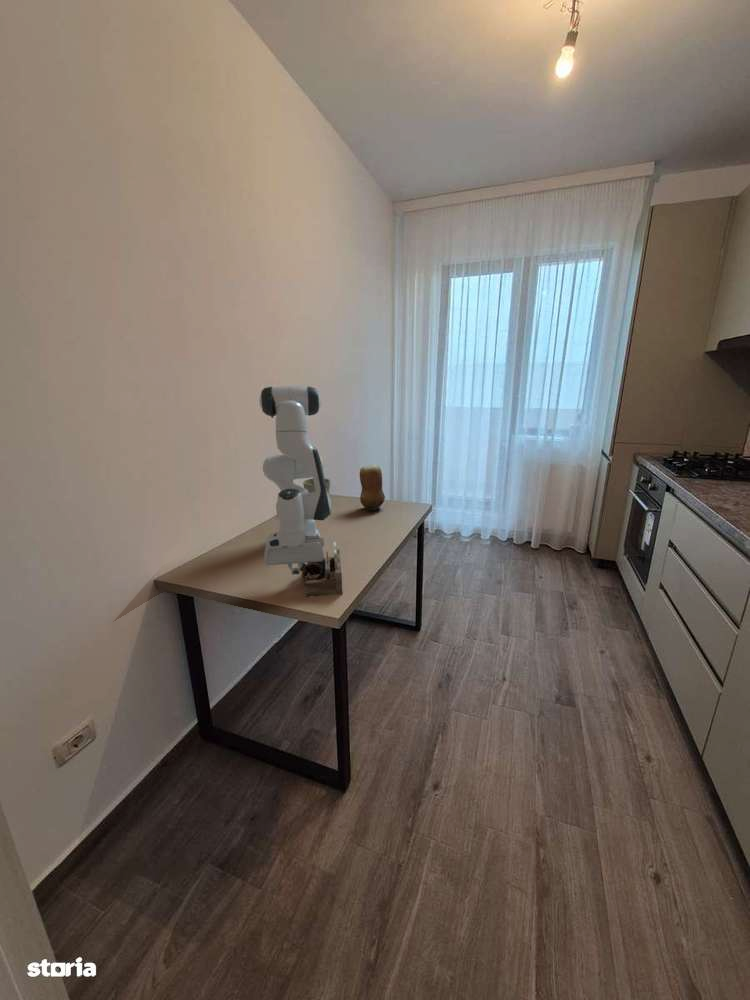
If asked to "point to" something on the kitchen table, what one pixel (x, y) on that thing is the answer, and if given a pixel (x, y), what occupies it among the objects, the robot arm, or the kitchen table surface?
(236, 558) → the kitchen table surface
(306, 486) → the plant pot
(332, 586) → the stand
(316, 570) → the pottery mug
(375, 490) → the butternut squash
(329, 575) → the grey flat panel
